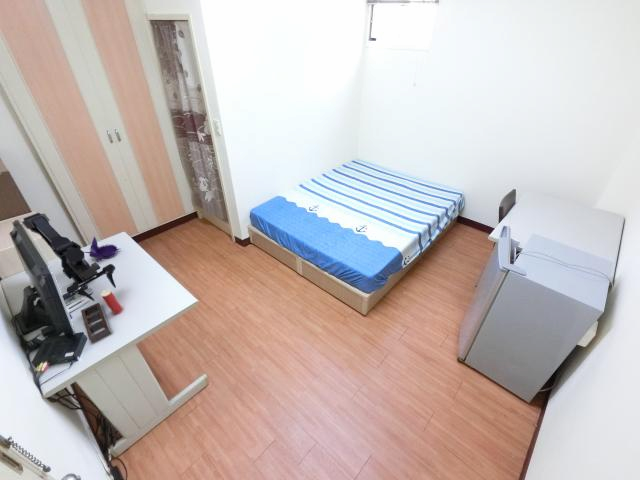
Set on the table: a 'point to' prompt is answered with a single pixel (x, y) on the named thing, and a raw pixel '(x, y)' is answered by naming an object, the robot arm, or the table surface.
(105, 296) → the red cylinder
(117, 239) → the table surface
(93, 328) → the brown wooden rack
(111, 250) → the creature
